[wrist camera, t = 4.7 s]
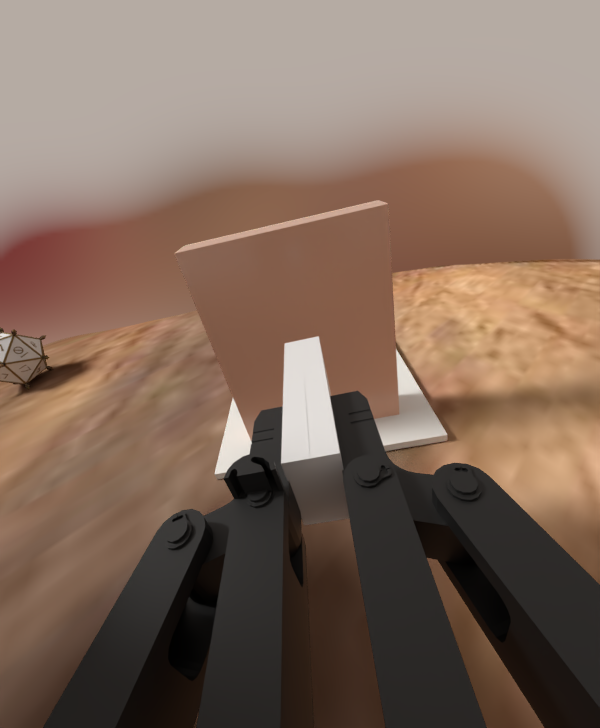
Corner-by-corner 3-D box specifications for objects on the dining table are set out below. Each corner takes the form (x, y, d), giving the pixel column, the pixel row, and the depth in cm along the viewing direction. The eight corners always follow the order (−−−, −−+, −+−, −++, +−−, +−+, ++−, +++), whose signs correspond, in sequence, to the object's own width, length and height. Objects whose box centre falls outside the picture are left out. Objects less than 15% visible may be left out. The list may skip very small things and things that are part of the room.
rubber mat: (447, 440, 22) (447, 434, 22) (217, 479, 24) (214, 474, 23) (376, 319, 40) (376, 315, 40) (247, 345, 41) (246, 341, 41)
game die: (43, 396, 50) (17, 341, 50) (78, 372, 47) (50, 314, 48) (-29, 409, 41) (-59, 342, 42) (9, 380, 39) (-24, 309, 39)
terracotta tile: (390, 395, 26) (377, 199, 19) (399, 414, 24) (388, 203, 17) (253, 420, 27) (185, 244, 20) (250, 440, 25) (174, 253, 18)
